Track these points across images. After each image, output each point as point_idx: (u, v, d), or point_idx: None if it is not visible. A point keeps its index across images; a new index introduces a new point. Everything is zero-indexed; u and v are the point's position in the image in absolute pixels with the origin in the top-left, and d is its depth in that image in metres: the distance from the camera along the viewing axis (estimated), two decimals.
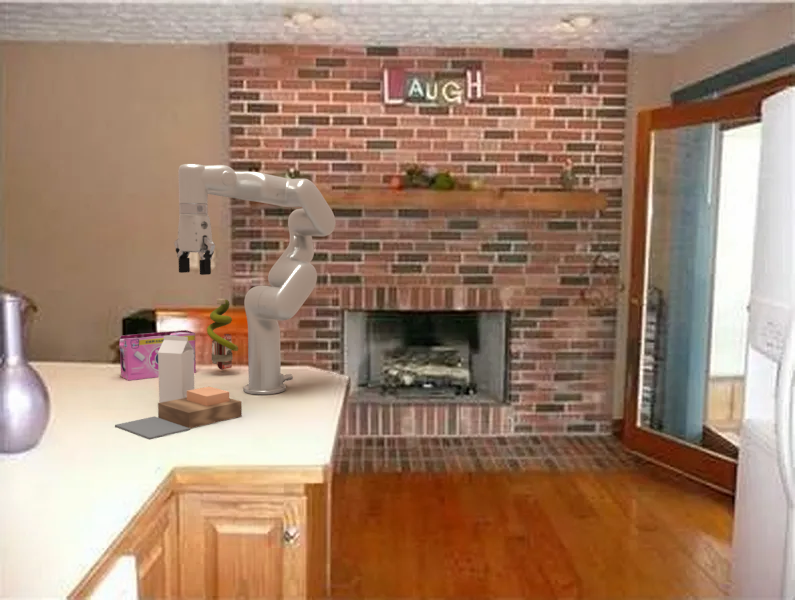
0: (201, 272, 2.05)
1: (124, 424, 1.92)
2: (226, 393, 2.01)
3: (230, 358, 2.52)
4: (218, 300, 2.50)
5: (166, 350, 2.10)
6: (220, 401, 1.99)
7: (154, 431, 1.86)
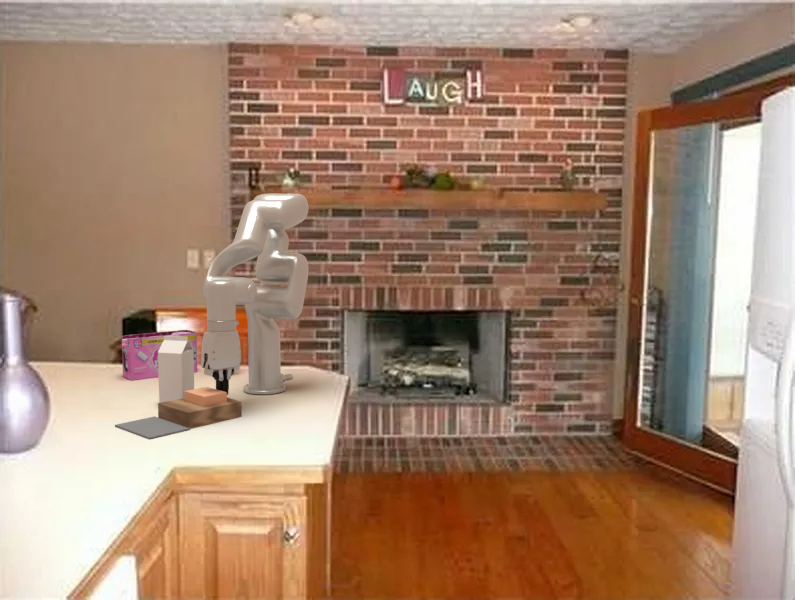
0: None
1: (124, 424, 1.92)
2: (224, 393, 2.00)
3: None
4: None
5: (166, 350, 2.10)
6: (217, 401, 1.99)
7: (154, 431, 1.86)
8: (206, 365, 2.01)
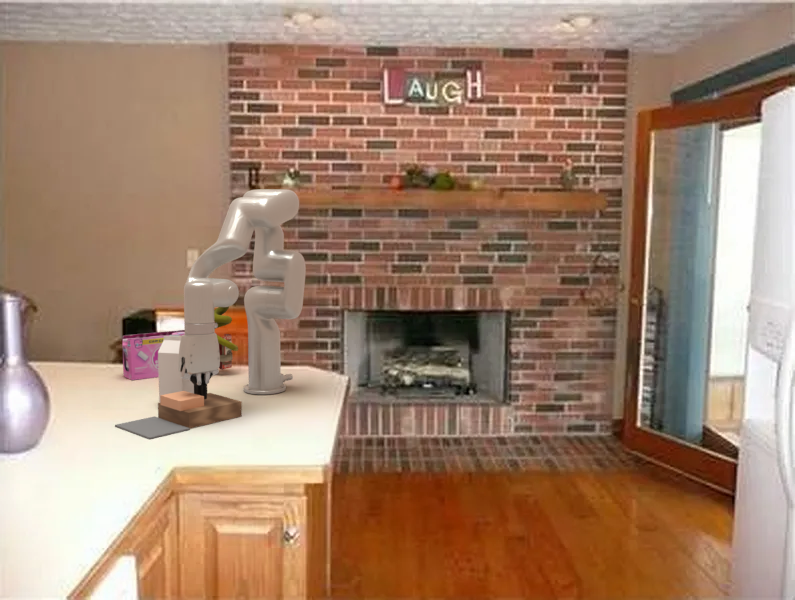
0: None
1: (124, 424, 1.92)
2: (201, 398, 1.95)
3: (230, 358, 2.52)
4: None
5: (166, 350, 2.10)
6: (194, 406, 1.94)
7: (154, 431, 1.86)
8: (183, 369, 1.96)
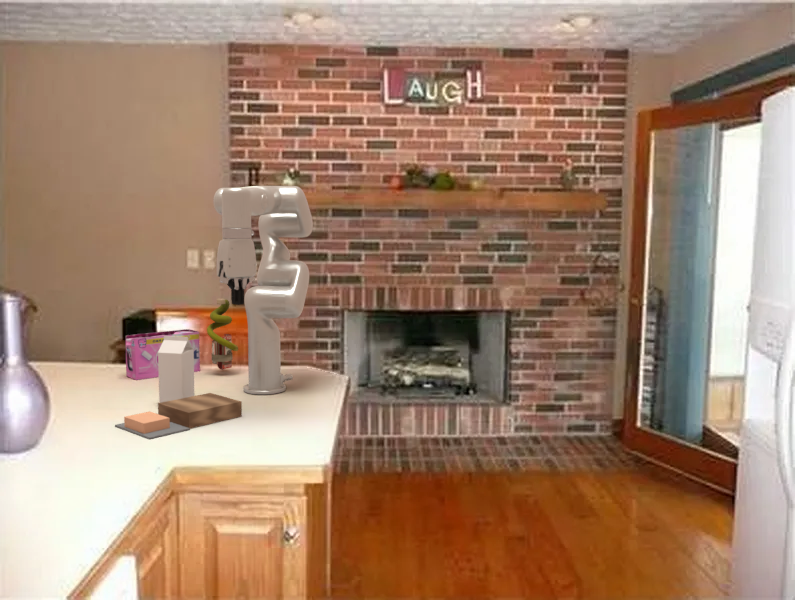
0: None
1: None
2: (147, 431, 1.84)
3: (230, 358, 2.52)
4: (218, 300, 2.50)
5: (166, 350, 2.10)
6: (154, 422, 1.86)
7: (154, 431, 1.86)
8: (222, 273, 2.00)
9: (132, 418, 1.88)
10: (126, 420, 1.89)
